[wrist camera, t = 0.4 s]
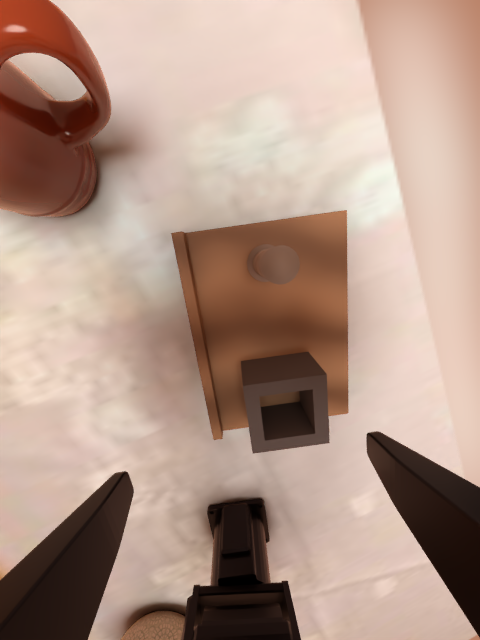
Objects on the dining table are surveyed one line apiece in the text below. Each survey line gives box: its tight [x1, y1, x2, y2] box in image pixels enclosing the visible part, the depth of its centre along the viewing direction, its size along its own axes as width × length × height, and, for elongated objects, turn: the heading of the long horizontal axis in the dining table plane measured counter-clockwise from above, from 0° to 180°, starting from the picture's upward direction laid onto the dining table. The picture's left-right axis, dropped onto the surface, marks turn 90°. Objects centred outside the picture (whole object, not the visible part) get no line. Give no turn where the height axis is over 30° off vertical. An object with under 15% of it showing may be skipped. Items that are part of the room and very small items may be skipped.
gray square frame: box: [241, 352, 329, 453], centre depth 18 cm, size 6×6×4 cm
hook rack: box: [171, 210, 348, 440], centre depth 17 cm, size 18×13×7 cm
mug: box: [0, 0, 111, 217], centre depth 11 cm, size 12×9×10 cm
